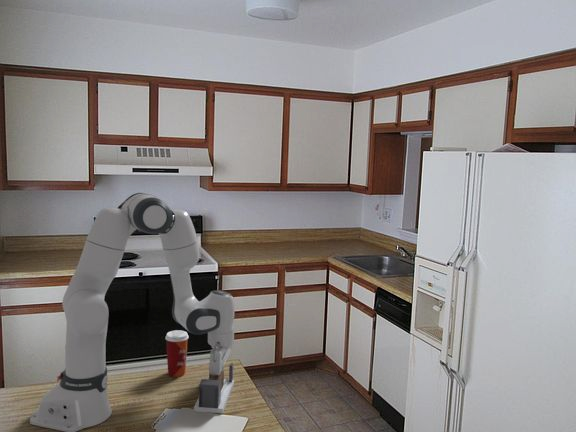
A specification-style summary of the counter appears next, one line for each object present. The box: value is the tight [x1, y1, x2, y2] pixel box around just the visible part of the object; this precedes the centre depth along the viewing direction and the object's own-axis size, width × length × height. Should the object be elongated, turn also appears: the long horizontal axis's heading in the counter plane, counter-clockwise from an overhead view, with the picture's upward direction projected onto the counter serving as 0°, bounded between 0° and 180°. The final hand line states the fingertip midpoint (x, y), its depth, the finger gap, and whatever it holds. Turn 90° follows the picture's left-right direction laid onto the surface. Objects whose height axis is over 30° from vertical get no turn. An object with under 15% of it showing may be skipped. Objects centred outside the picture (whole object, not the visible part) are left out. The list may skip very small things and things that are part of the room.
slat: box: [211, 370, 225, 389], centre depth 161 cm, size 3×14×5 cm, turn 176°
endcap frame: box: [193, 362, 235, 414], centre depth 162 cm, size 9×20×9 cm, turn 176°
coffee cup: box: [165, 329, 190, 378], centre depth 178 cm, size 8×8×15 cm
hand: (220, 376), depth 170 cm, fingers closed
